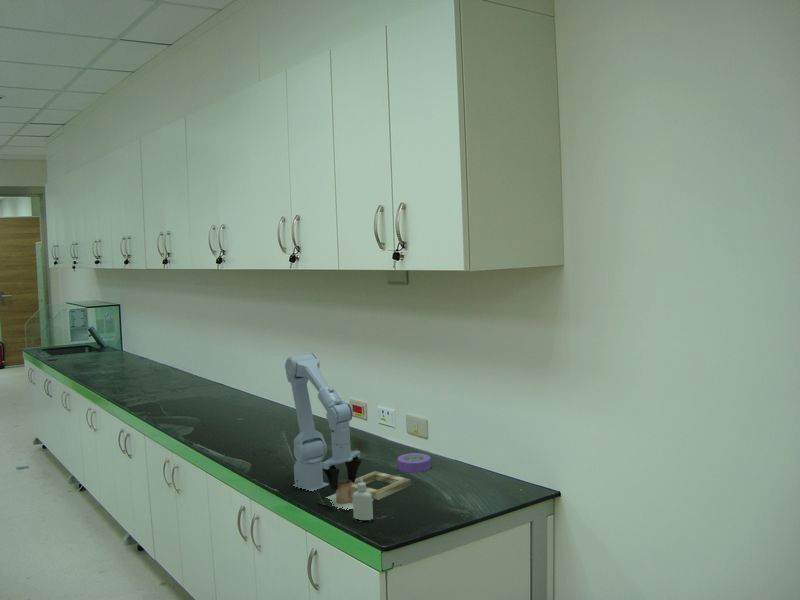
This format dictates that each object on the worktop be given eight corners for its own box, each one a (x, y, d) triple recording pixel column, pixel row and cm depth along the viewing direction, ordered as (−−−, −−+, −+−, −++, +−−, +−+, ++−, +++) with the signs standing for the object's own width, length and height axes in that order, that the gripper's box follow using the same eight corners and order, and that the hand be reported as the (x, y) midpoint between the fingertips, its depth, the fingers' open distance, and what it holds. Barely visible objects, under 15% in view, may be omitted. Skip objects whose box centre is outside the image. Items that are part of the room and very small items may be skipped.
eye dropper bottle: (364, 514, 206) (362, 474, 206) (375, 520, 202) (373, 479, 201) (352, 518, 204) (349, 478, 203) (362, 524, 199) (360, 483, 198)
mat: (314, 503, 218) (314, 502, 218) (342, 491, 227) (342, 490, 227) (346, 512, 209) (346, 511, 209) (373, 500, 218) (373, 499, 218)
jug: (343, 496, 221) (342, 478, 221) (360, 500, 217) (359, 481, 217) (332, 501, 217) (331, 483, 217) (348, 505, 213) (347, 486, 213)
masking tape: (434, 463, 253) (433, 453, 252) (426, 474, 241) (426, 463, 241) (402, 462, 256) (402, 452, 255) (394, 472, 245) (393, 462, 244)
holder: (342, 490, 228) (341, 484, 228) (375, 476, 240) (375, 471, 240) (378, 500, 218) (377, 493, 218) (411, 485, 230) (410, 479, 230)
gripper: (332, 450, 208) (335, 495, 210) (366, 439, 219) (368, 481, 220) (316, 446, 213) (319, 490, 214) (350, 435, 224) (352, 477, 225)
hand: (343, 485), depth 218 cm, fingers open, 7 cm apart
